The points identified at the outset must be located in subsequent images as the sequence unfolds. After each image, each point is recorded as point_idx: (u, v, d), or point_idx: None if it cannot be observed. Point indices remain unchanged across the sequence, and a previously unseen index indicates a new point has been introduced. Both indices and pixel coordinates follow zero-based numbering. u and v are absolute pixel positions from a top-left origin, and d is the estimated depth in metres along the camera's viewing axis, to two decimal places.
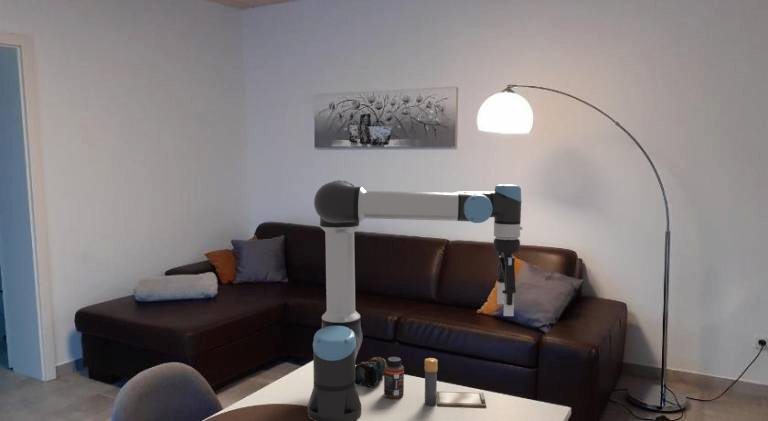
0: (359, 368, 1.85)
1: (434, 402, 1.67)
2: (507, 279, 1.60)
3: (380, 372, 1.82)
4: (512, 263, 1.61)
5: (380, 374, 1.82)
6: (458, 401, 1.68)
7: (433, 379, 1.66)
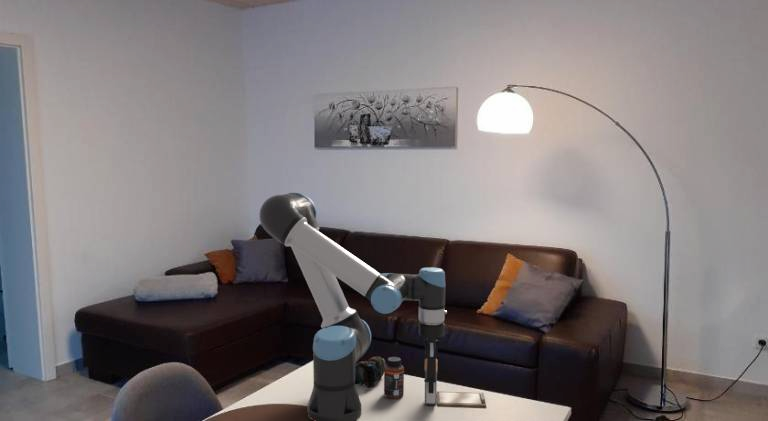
0: (358, 367, 1.85)
1: None
2: (428, 371, 1.62)
3: (379, 372, 1.82)
4: (434, 356, 1.61)
5: (379, 374, 1.83)
6: (458, 401, 1.68)
7: None
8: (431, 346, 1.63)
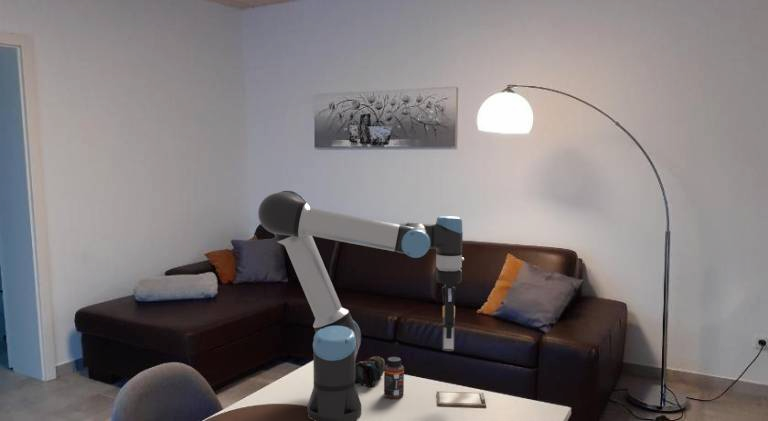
0: (357, 367, 1.86)
1: None
2: (446, 315, 1.66)
3: (378, 372, 1.83)
4: (452, 300, 1.65)
5: (378, 373, 1.83)
6: (458, 401, 1.68)
7: None
8: (449, 291, 1.66)
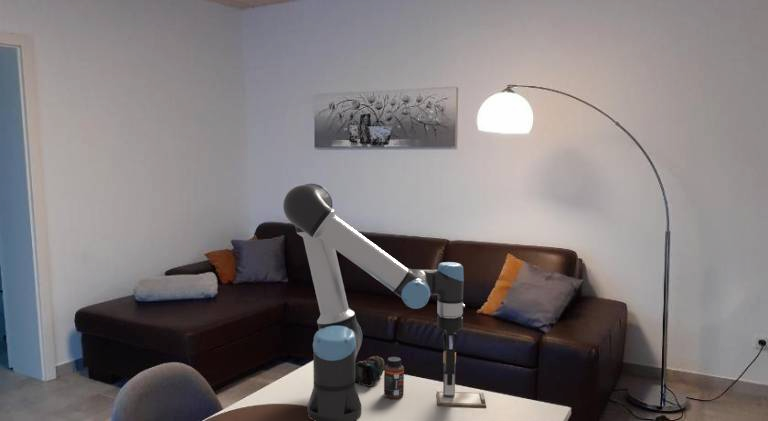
0: (357, 367, 1.86)
1: None
2: (447, 363, 1.66)
3: (378, 371, 1.83)
4: (453, 348, 1.65)
5: (378, 373, 1.83)
6: (458, 401, 1.68)
7: None
8: (450, 339, 1.66)
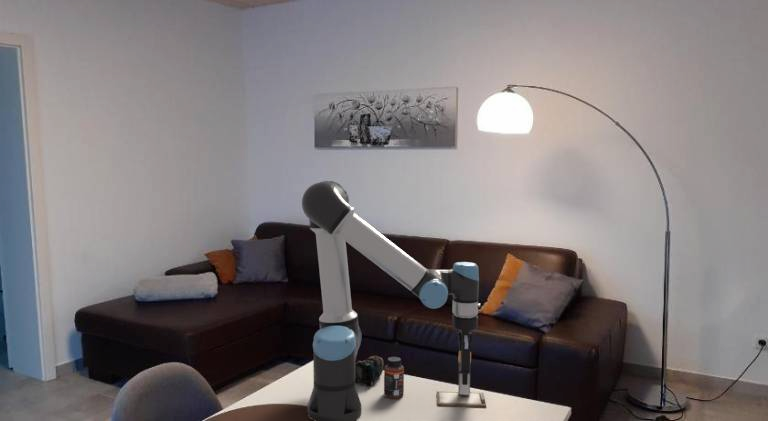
0: (356, 367, 1.86)
1: None
2: (462, 362, 1.66)
3: (377, 371, 1.83)
4: (468, 348, 1.65)
5: (377, 373, 1.83)
6: (458, 401, 1.68)
7: None
8: (465, 338, 1.67)
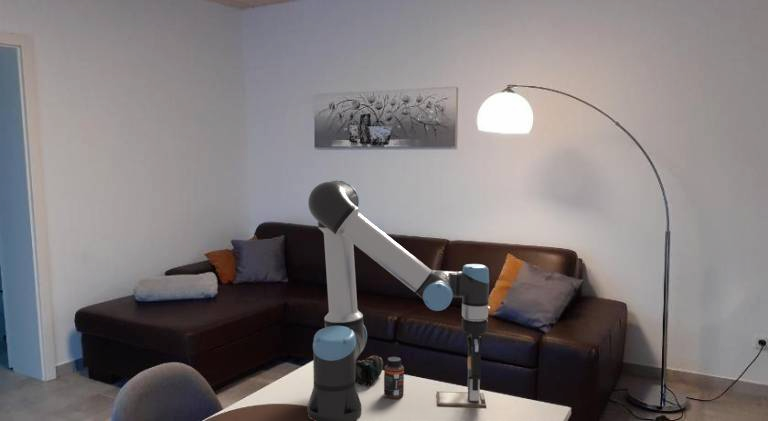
0: (356, 366, 1.86)
1: None
2: (473, 367, 1.61)
3: (376, 371, 1.83)
4: (479, 351, 1.61)
5: (376, 372, 1.83)
6: (458, 401, 1.68)
7: None
8: (475, 341, 1.63)
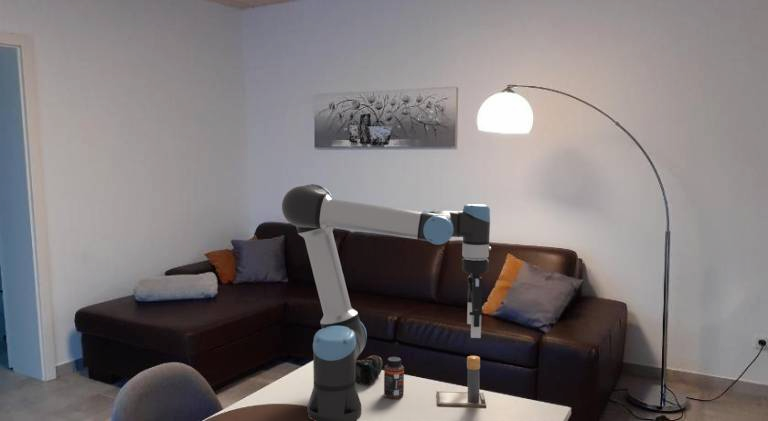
0: (355, 366, 1.87)
1: (477, 400, 1.67)
2: (474, 301, 1.58)
3: (376, 370, 1.84)
4: (479, 284, 1.59)
5: (375, 372, 1.84)
6: (458, 401, 1.68)
7: (476, 377, 1.67)
8: (476, 278, 1.61)
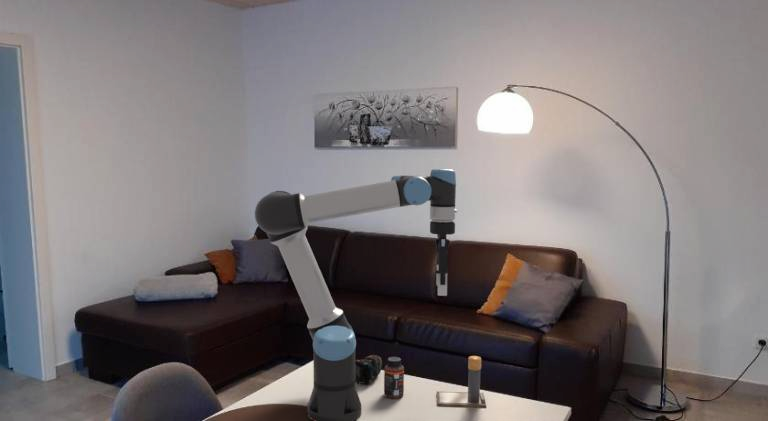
0: None
1: (477, 400, 1.67)
2: (440, 259, 1.65)
3: (375, 370, 1.84)
4: (445, 244, 1.67)
5: (375, 372, 1.84)
6: (458, 401, 1.68)
7: (477, 377, 1.66)
8: None
